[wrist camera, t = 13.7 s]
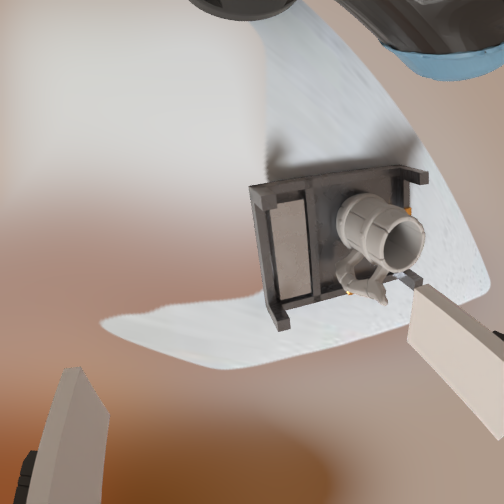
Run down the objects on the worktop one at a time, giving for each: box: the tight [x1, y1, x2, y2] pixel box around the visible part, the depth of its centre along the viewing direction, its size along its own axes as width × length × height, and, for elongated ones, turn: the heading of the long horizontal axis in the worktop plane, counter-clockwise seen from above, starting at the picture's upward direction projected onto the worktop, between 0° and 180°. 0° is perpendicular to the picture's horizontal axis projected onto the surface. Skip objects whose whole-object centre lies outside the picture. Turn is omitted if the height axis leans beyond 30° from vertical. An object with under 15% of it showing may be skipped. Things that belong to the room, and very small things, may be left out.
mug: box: [335, 193, 425, 306], centre depth 35 cm, size 8×12×12 cm, turn 150°
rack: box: [249, 165, 429, 332], centre depth 37 cm, size 16×21×6 cm
